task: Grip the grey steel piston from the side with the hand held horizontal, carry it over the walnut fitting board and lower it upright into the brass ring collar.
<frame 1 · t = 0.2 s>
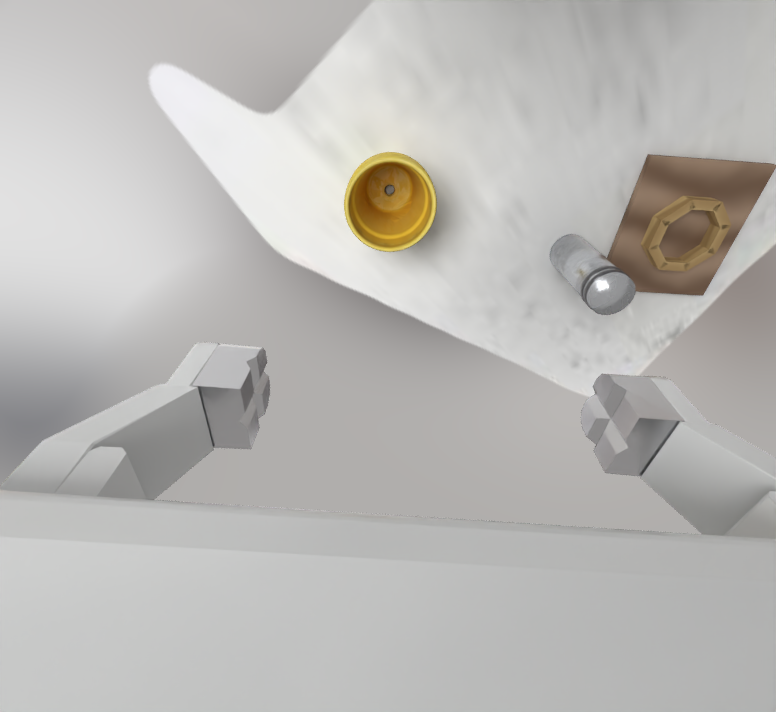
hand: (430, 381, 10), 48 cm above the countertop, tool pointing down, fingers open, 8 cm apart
piston: (567, 251, 58), on the countertop
ring stand: (675, 230, 56), on the countertop
plant pot: (389, 187, 53), on the countertop
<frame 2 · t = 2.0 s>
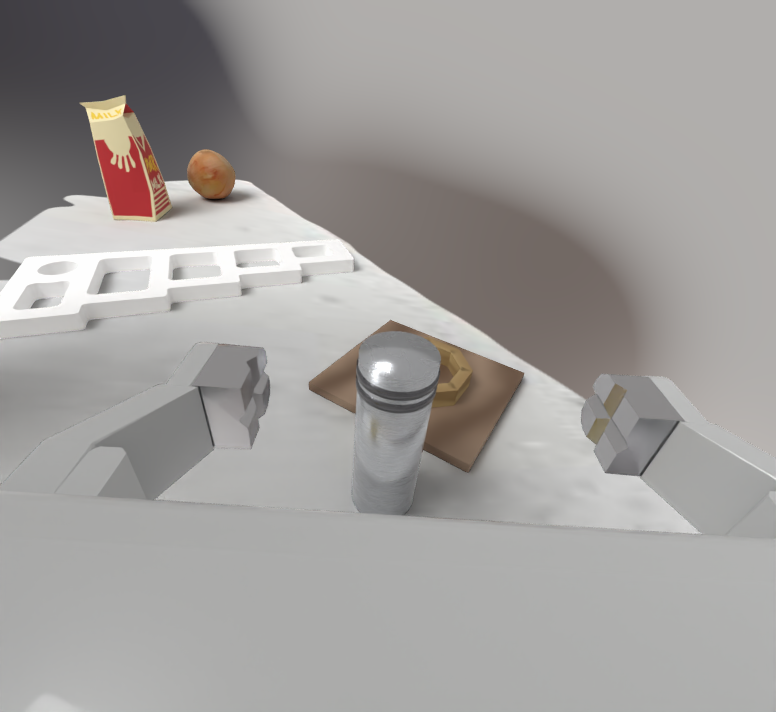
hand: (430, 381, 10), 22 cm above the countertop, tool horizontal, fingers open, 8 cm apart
onion: (215, 199, 92), on the countertop
holder: (207, 289, 59), on the countertop
piston: (382, 492, 33), on the countertop
ring stand: (420, 384, 44), on the countertop
milk carton: (141, 214, 80), on the countertop
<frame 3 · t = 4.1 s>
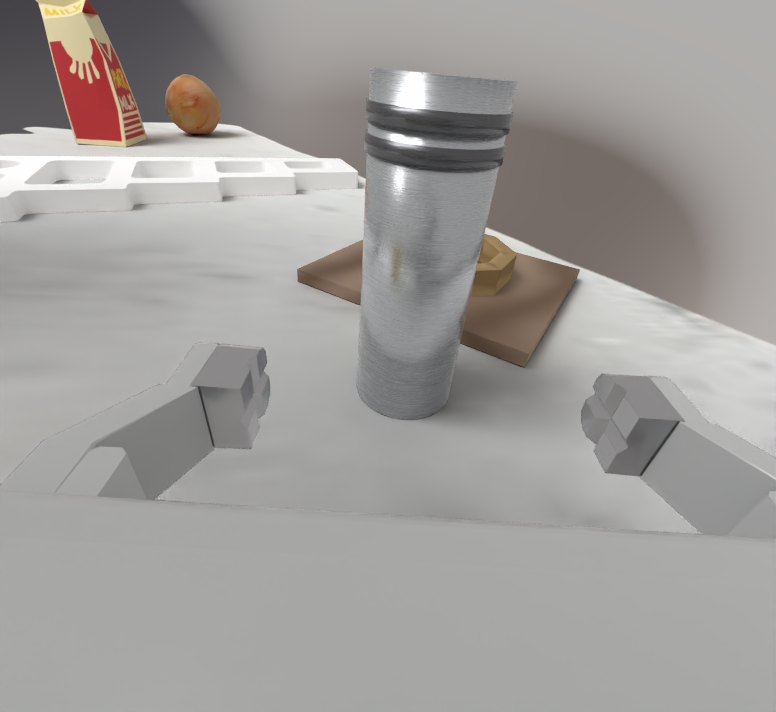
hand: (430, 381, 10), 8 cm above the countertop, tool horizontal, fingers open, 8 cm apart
onion: (198, 136, 81), on the countertop
holder: (181, 198, 49), on the countertop
piston: (403, 386, 22), on the countertop
ring stand: (446, 280, 33), on the countertop
milk carton: (110, 142, 70), on the countertop
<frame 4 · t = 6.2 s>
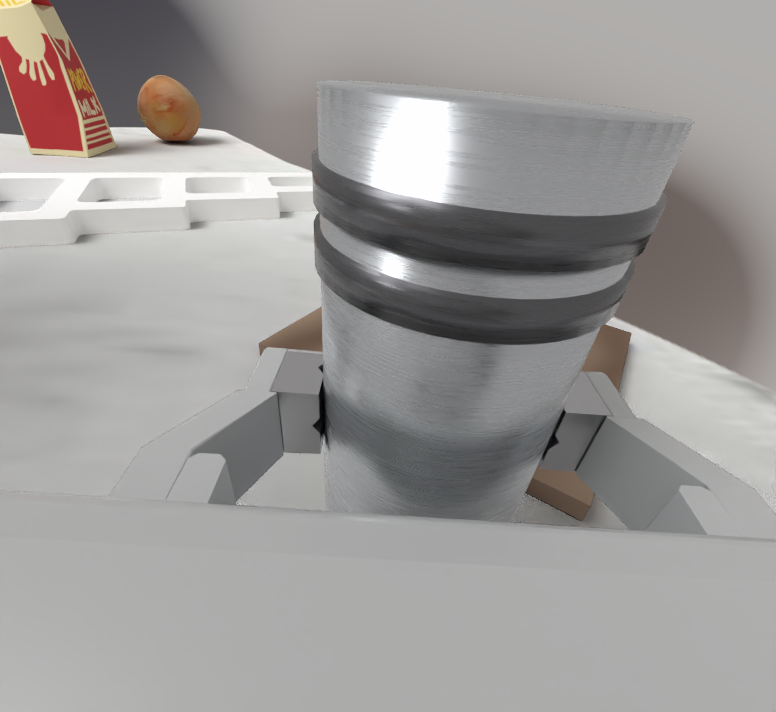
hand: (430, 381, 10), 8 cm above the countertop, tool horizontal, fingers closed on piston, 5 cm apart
onion: (176, 143, 73), on the countertop
holder: (143, 224, 41), on the countertop
piston: (400, 575, 14), on the countertop, touching gripper
ring stand: (458, 350, 25), on the countertop
milk carton: (72, 151, 61), on the countertop
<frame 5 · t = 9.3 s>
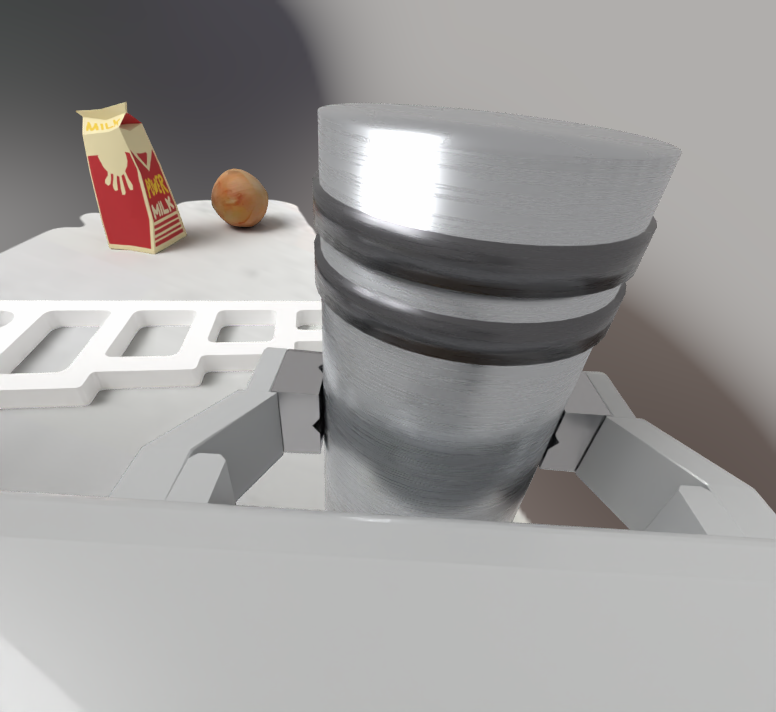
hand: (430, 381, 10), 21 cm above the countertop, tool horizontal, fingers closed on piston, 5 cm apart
onion: (244, 226, 77), on the countertop
holder: (166, 365, 43), on the countertop
piston: (399, 581, 14), point 13 cm above the countertop, touching gripper
milk carton: (146, 242, 67), on the countertop
when the fingers open (10 cm above the countertop, at t = 12.1 s): piston stays where it is, resting on ring stand.
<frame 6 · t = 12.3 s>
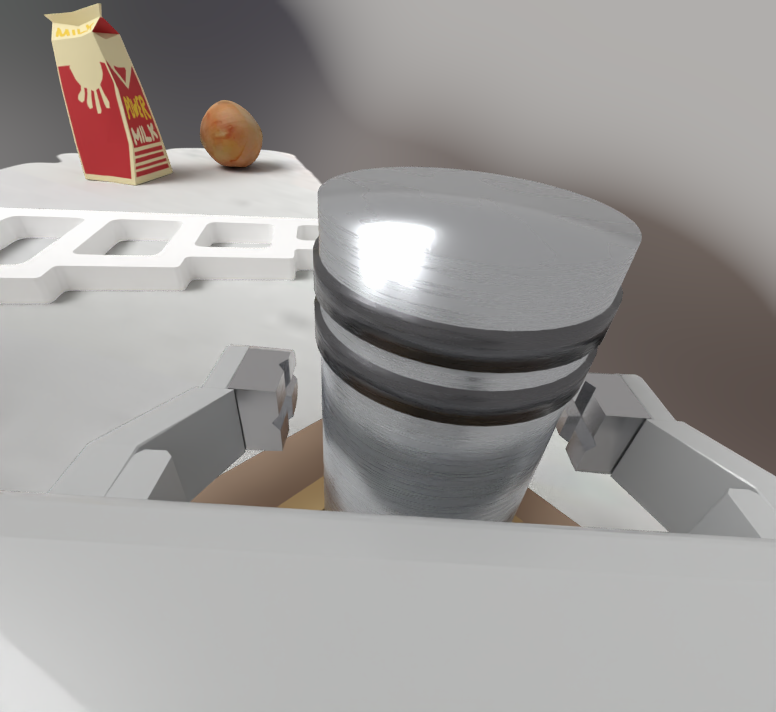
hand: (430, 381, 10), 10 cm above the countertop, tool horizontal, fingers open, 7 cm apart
onion: (236, 168, 71), on the countertop
holder: (147, 275, 37), on the countertop
piston: (395, 595, 15), point 1 cm above the countertop, touching ring stand
ring stand: (394, 606, 15), on the countertop
milk carton: (128, 177, 61), on the countertop
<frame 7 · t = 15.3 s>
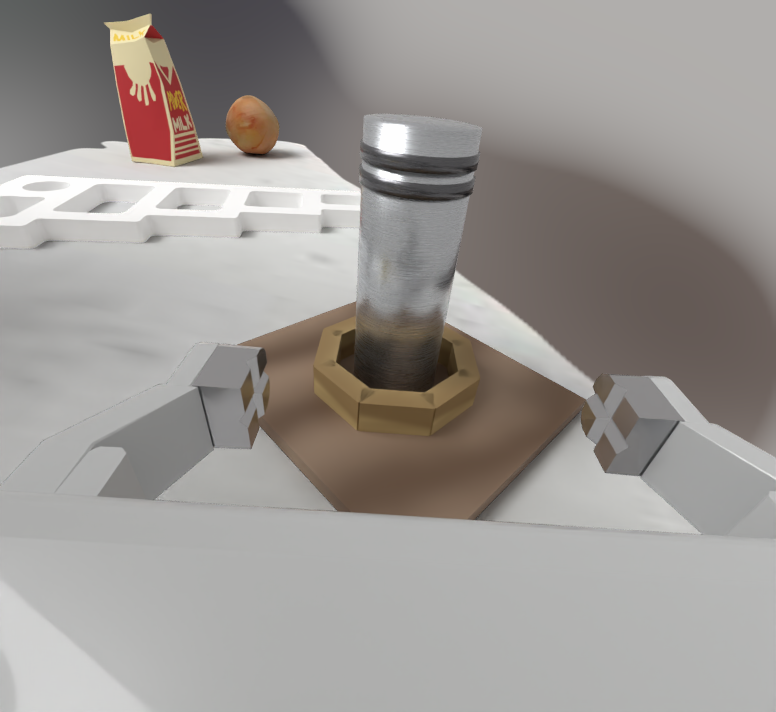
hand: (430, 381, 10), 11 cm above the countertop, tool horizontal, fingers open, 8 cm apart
onion: (256, 155, 81), on the countertop
holder: (206, 229, 48), on the countertop
piston: (393, 378, 25), point 1 cm above the countertop, touching ring stand
ring stand: (392, 390, 26), on the countertop
milk carton: (165, 160, 72), on the countertop
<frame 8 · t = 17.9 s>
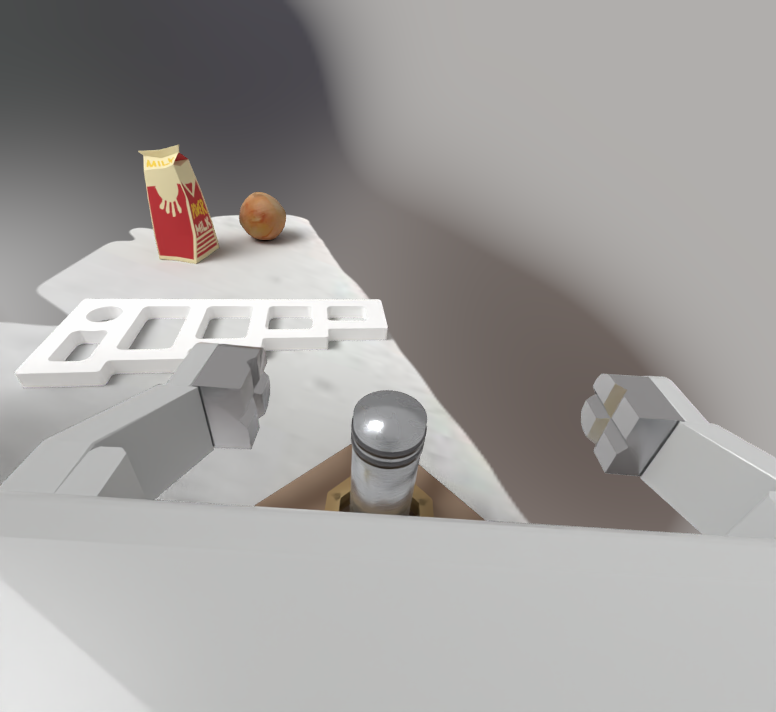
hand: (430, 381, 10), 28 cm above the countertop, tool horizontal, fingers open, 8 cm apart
onion: (265, 239, 91), on the countertop
holder: (234, 346, 59), on the countertop
piston: (377, 528, 36), point 1 cm above the countertop, touching ring stand
ring stand: (377, 534, 36), on the countertop
milk carton: (187, 253, 82), on the countertop
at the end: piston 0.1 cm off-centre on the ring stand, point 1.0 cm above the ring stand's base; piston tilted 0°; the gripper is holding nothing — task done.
